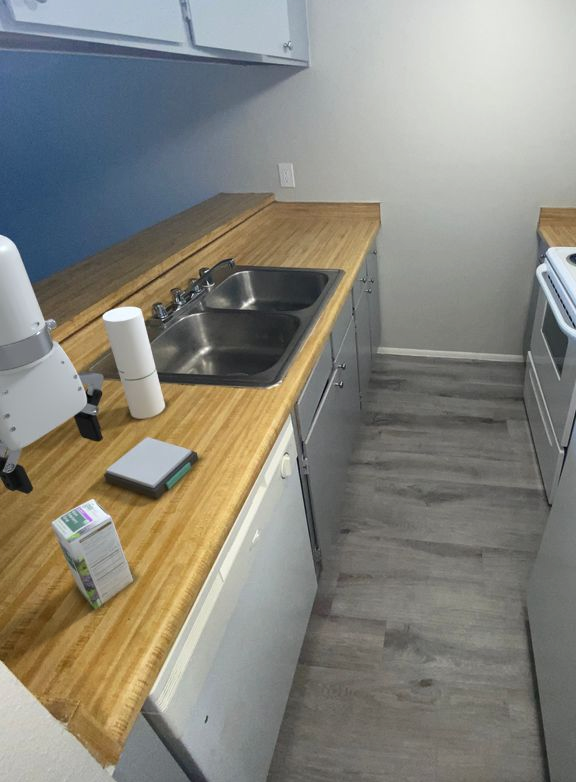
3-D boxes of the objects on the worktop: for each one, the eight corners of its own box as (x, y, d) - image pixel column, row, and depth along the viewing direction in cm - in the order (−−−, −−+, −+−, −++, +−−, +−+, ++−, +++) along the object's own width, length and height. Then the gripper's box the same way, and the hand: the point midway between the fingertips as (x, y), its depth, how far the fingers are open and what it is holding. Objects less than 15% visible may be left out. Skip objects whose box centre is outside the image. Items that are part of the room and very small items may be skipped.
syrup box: (77, 589, 71) (46, 523, 64) (117, 561, 76) (92, 496, 69) (96, 611, 68) (66, 544, 62) (136, 580, 73) (112, 515, 66)
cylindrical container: (151, 398, 114) (126, 304, 102) (172, 406, 111) (149, 311, 99) (124, 414, 108) (94, 316, 96) (145, 423, 105) (117, 324, 94)
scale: (107, 484, 90) (102, 471, 88) (151, 447, 99) (148, 434, 97) (159, 502, 86) (155, 489, 85) (200, 462, 96) (197, 449, 94)
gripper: (57, 310, 61) (95, 416, 69) (-108, 381, 46) (-35, 504, 54) (102, 319, 59) (136, 427, 67) (-55, 396, 44) (12, 522, 52)
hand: (59, 462), depth 60 cm, fingers open, 9 cm apart
